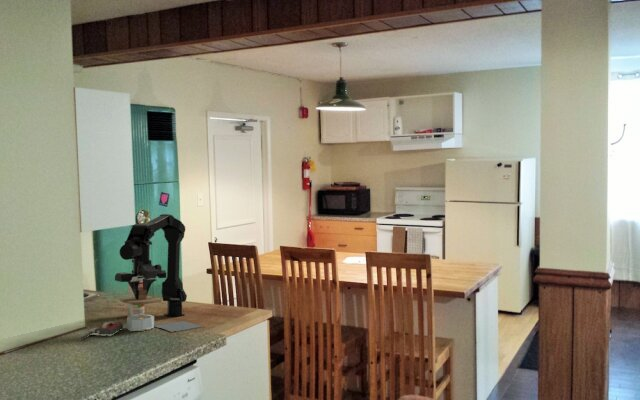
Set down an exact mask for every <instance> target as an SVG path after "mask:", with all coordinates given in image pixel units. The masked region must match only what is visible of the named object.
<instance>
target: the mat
mask: <svg viewBox="0 0 640 400" xmlns="http://www.w3.org/2000/svg"><path fill="white" fill-rule="evenodd" d="M156 327H157V328H156ZM154 328H156V329H159V328H162V329H167V330H174V331H180V332H185V331H191V330H195V329H200V328H201V329H202V328H203V327H202V326H201V325H198V324H194V323H190V322H189V321H184V320H182V321H177V322H170V323H163V324H157V325H154ZM162 329H161V330H162Z"/></svg>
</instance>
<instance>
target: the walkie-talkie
mask: <svg viewBox="0 0 640 400" xmlns="http://www.w3.org/2000/svg"><path fill="white" fill-rule="evenodd" d="M123 327H124V323H123V322H120V321H119V322H118V321H115V320H114V321H111V320H110V321H106V322H104V323H102V324H101V325H100V326H98V327H97V326H96V327H94V328H91V329H89V330H88V333H86V334H85V335H83V336H81V337H80V340H82V339H83V340H84V338H85V337H87V336H88V335H90V334H92V333H99V334H113V333H115V332H116V331H118V330H120V329H122V328H123ZM87 338H88V337H87ZM85 339H86V338H85Z"/></svg>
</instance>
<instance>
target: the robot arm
mask: <svg viewBox="0 0 640 400" xmlns="http://www.w3.org/2000/svg"><path fill="white" fill-rule="evenodd" d="M159 230H162V231H163V237H164V238H165V240H166V242H167V262H166V263H167V267H166V268H167V269H166V270H164V269H162V265H161V264H155V265H153V264H152V260H151V259H150V245H153V242H152V241H151V239H152V238H153V237H154V236H155V233H156V232H157V231H159ZM185 232H186V226H185V225H184V223H183V222H182V221H181V220H179V219H178V218H176V217H174V215H172V214H169V213H167V214H166V213H165V214H164V213H162V214H159V216H157V217H155V218H153V219H152V220H149V221H147V222H144V223H135V224H133V225H132V226H131V229H130V231H129V233H128V236H127V238H126V240H125V241H124V244H123V245H122V246H121V247H120V249H119V256H120V257H121V259H123V260H126V261H127V260H131V263H133V270H131V272H126V271H125V272H117V273H116V274H115V276H114V281H117V282H120V283H127V284H128V283H129V285H130V287H131V289H132V291H133V293H134V296H135V298H136V299H138V285H139V282H140V281H138V278H143V289H145V290H147V295H148V294H149V291H150V288H151V286H152V284H153V283H154V282H156V281H157V278H159V279H165V280H164V281H162V282H161V296H162V301H163V302H167V304H166V305H167V312H166V313H164V314H163V315H164V316H166V317H167V316H168V317H171V318H176V317H181V316H185V313H183V303H184V302H186V301H187V297H188V295H187V293H186V291H185V289H184V286H183V282H182V280H181V279H180V259H181V258H180V254H181V253H180V252H181V250H180V249H181V242H182V241H183V239H184V238H185ZM166 271H167V272H166ZM132 273H133V274H132Z"/></svg>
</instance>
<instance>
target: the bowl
mask: <svg viewBox="0 0 640 400" xmlns="http://www.w3.org/2000/svg"><path fill="white" fill-rule="evenodd" d="M138 318H143V319H138ZM154 326H155V316H154V315H151V314H144V315H133V316H129V317H127V318H126V329H130V330H143V329H151V328H153V329H154V328H155V327H154Z"/></svg>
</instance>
